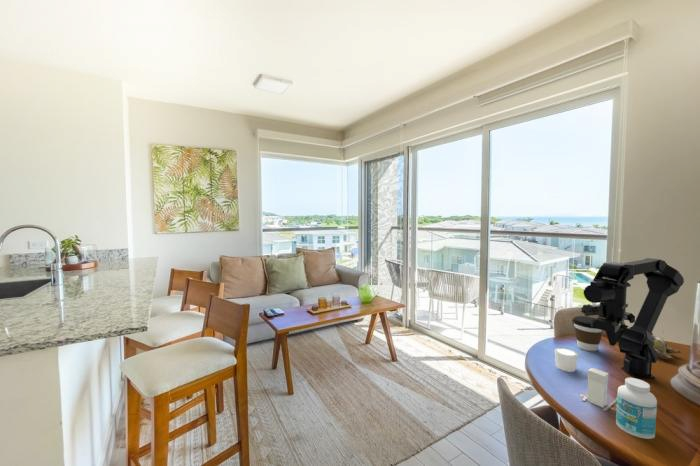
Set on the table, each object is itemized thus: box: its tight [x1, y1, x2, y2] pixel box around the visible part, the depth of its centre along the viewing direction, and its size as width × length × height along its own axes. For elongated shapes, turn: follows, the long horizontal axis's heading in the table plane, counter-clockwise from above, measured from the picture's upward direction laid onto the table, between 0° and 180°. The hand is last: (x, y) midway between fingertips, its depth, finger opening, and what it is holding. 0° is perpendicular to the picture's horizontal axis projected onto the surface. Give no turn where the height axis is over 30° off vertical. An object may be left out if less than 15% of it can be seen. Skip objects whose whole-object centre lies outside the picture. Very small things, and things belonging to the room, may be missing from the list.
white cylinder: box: [554, 347, 579, 373], centre depth 109 cm, size 7×7×7 cm
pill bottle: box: [615, 377, 658, 440], centre depth 78 cm, size 8×7×14 cm
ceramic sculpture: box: [651, 332, 682, 360], centre depth 121 cm, size 11×9×15 cm
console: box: [579, 393, 617, 412], centre depth 91 cm, size 14×9×1 cm, turn 121°
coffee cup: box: [571, 315, 604, 352], centre depth 126 cm, size 11×11×12 cm
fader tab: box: [586, 367, 609, 409], centre depth 88 cm, size 3×4×10 cm
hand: (612, 345), depth 102 cm, fingers closed
